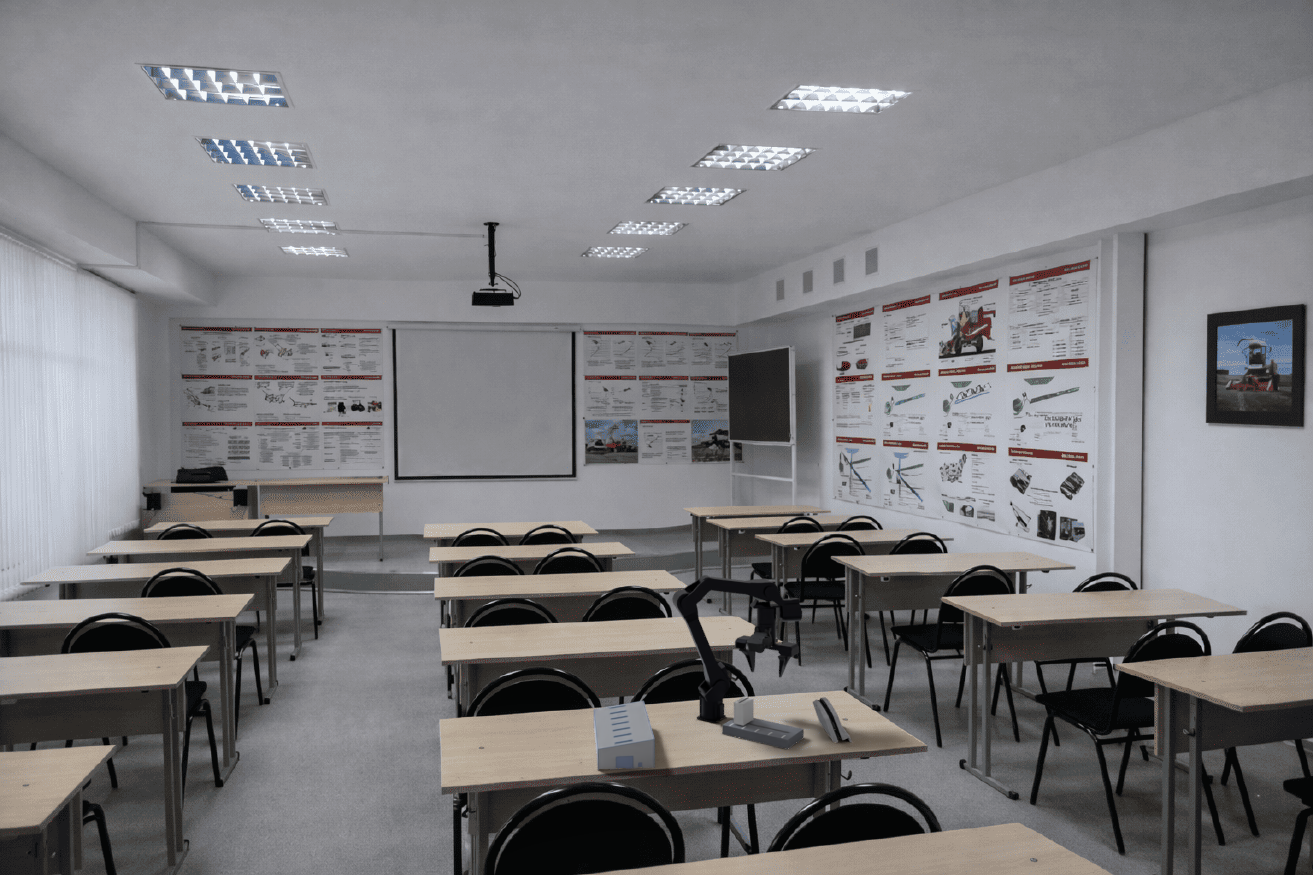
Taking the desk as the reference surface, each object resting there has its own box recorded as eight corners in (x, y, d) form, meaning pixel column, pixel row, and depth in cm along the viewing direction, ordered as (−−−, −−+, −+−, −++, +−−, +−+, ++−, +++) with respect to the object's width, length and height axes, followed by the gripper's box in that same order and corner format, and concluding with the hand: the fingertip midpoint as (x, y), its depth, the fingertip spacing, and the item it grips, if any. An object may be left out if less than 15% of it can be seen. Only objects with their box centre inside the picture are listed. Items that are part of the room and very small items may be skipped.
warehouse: (593, 728, 238) (593, 702, 238) (643, 726, 240) (643, 700, 240) (597, 771, 208) (597, 741, 208) (654, 768, 210) (654, 738, 210)
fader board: (722, 733, 233) (722, 724, 233) (739, 723, 241) (739, 714, 241) (787, 749, 222) (787, 739, 222) (803, 737, 230) (803, 728, 230)
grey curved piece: (852, 742, 226) (840, 708, 226) (836, 748, 226) (823, 714, 226) (835, 720, 243) (824, 689, 243) (820, 726, 243) (809, 694, 243)
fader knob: (733, 723, 233) (733, 701, 233) (744, 717, 238) (744, 696, 238) (743, 725, 231) (743, 703, 231) (753, 719, 236) (753, 697, 236)
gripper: (725, 623, 247) (725, 675, 247) (783, 632, 236) (782, 686, 236) (743, 616, 256) (743, 667, 256) (799, 624, 245) (799, 677, 246)
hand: (766, 674), depth 248 cm, fingers open, 9 cm apart
